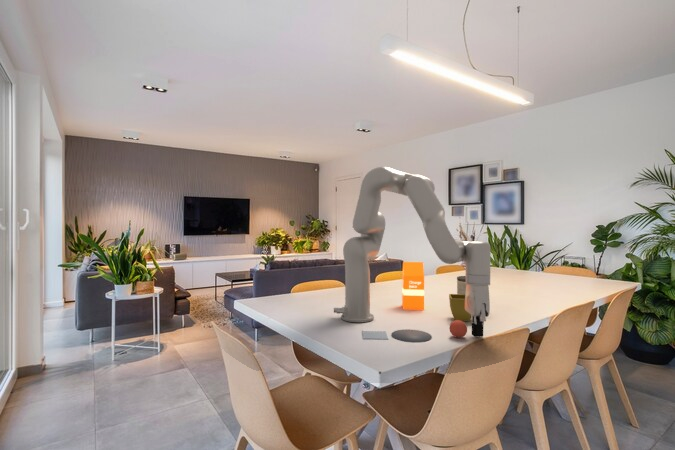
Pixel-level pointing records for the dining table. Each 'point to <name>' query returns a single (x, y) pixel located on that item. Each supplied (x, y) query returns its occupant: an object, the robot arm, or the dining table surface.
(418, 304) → the orange juice
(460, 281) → the coffee can
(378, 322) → the dining table surface
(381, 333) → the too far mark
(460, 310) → the flower pot
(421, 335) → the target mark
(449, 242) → the robot arm
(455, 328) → the ball
